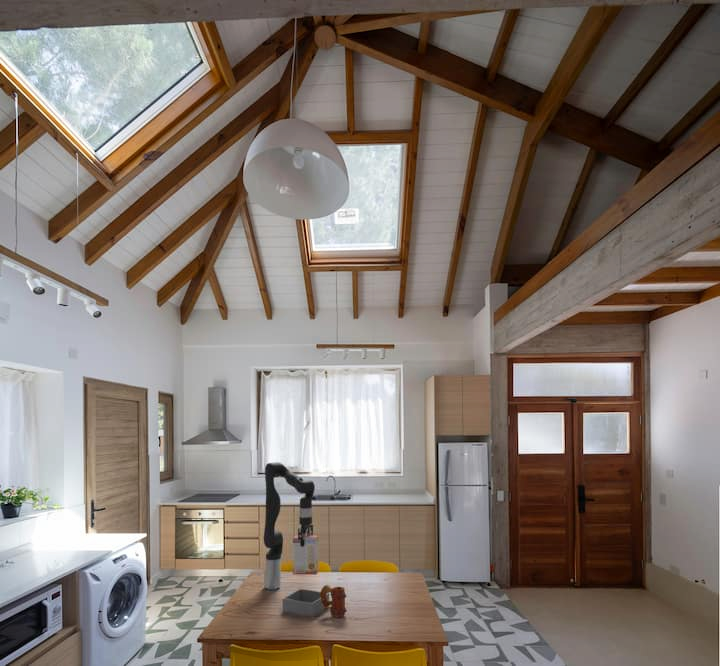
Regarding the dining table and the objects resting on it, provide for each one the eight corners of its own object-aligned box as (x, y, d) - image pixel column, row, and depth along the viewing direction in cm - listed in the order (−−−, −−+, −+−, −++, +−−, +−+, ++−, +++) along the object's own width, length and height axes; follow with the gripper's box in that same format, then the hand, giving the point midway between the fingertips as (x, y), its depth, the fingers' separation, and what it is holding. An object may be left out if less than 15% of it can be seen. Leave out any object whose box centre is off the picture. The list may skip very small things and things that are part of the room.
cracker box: (318, 572, 327) (318, 534, 330) (316, 575, 321) (316, 537, 324) (294, 571, 329) (295, 534, 331) (292, 574, 323) (292, 536, 326)
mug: (349, 614, 299) (349, 585, 301) (343, 620, 291) (343, 589, 293) (323, 611, 304) (324, 582, 306) (317, 616, 296) (318, 586, 298)
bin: (282, 612, 303) (282, 598, 304) (300, 601, 319) (300, 588, 320) (312, 617, 295) (312, 603, 296) (329, 606, 311) (329, 593, 312)
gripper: (306, 513, 338) (306, 541, 335) (293, 517, 325) (293, 547, 322) (317, 514, 334) (317, 542, 332) (305, 518, 322) (305, 548, 319)
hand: (305, 544), depth 327 cm, fingers closed on cracker box, 7 cm apart
